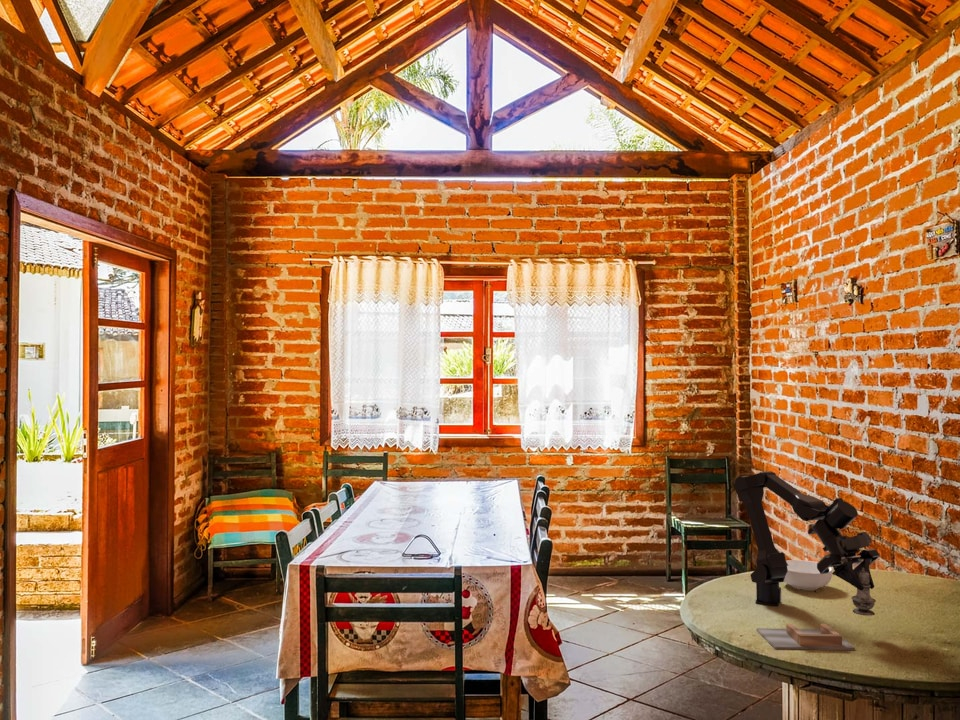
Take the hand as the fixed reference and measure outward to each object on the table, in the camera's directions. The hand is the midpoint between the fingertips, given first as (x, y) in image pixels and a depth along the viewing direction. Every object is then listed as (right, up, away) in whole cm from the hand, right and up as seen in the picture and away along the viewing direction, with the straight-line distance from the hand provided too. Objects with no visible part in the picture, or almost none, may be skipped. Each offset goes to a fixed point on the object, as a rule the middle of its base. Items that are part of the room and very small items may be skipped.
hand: (867, 588), depth 196 cm
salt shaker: (-1, -7, +1) cm, 7 cm away
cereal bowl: (+4, -15, +48) cm, 51 cm away
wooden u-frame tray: (-18, -13, -2) cm, 22 cm away
